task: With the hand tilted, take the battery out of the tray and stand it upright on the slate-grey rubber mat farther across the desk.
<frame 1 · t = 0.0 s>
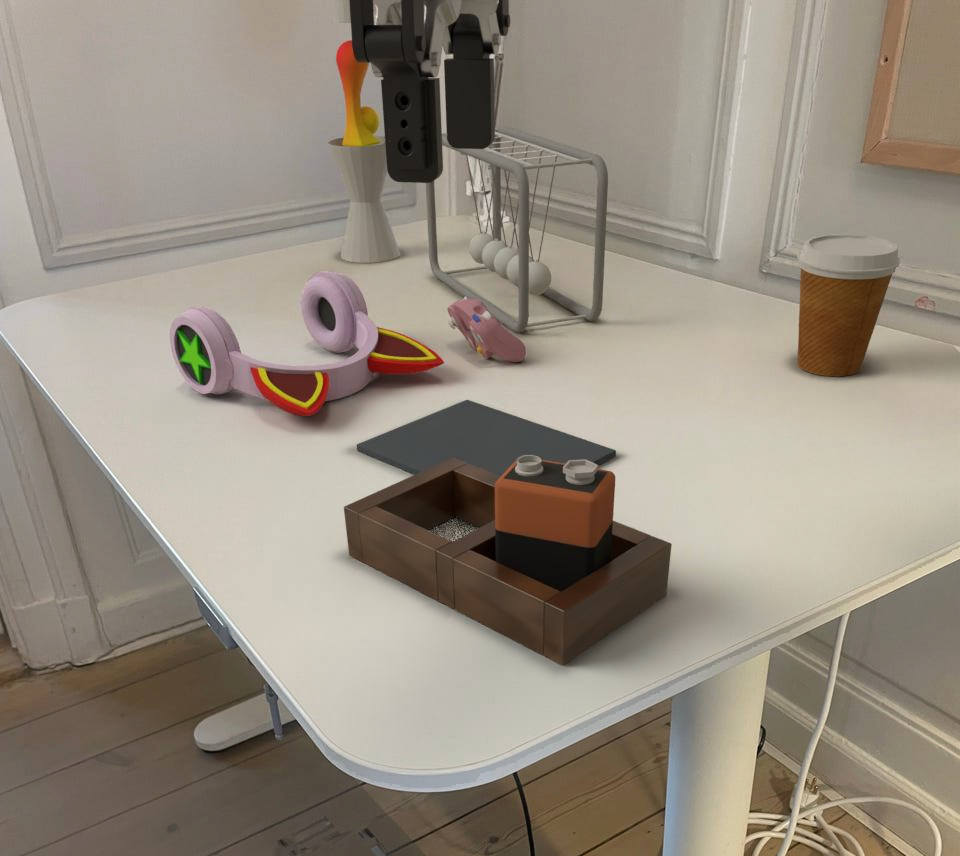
hand: (445, 162, 45), 28 cm above the table, tool pointing down, fingers open, 8 cm apart
tray: (501, 574, 70), on the table
headphones: (315, 385, 102), on the table
lava lamp: (370, 256, 145), on the table
battery: (552, 600, 68), resting in tray
newton's cradle: (509, 299, 126), on the table
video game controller: (485, 355, 109), on the table
mat: (484, 453, 87), on the table
disposable coffee cup: (828, 368, 103), on the table
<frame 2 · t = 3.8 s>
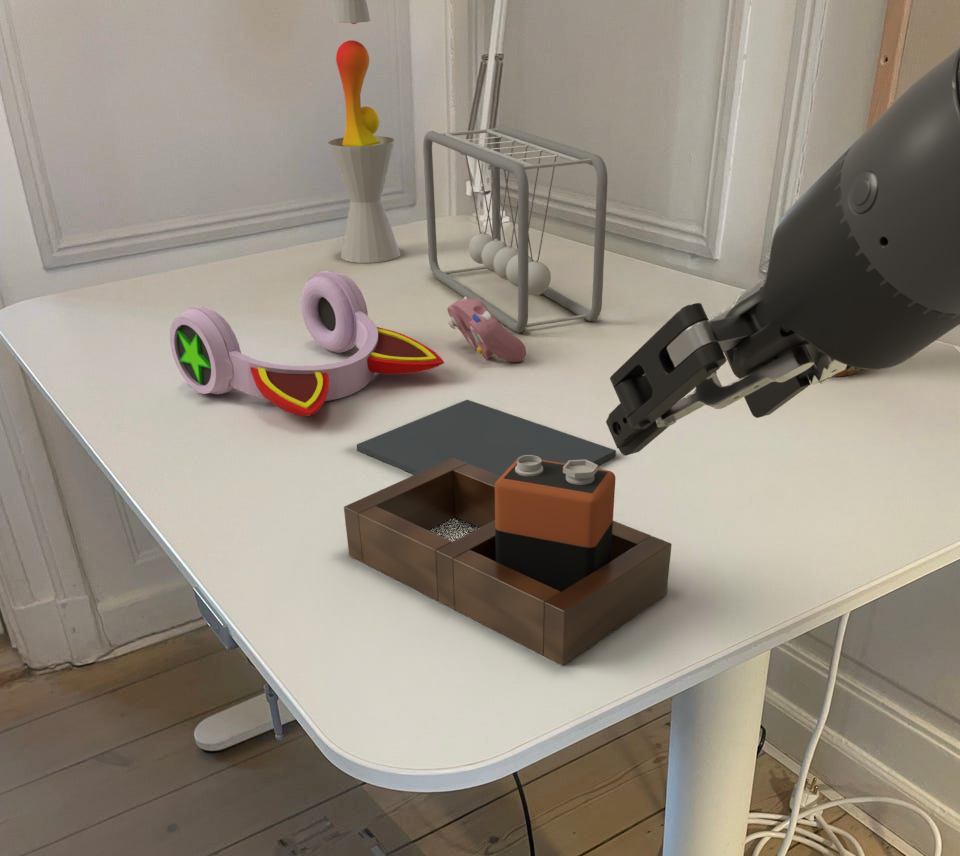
hand: (688, 417, 50), 17 cm above the table, tool tilted 45°, fingers open, 8 cm apart
nothing on the table moved.
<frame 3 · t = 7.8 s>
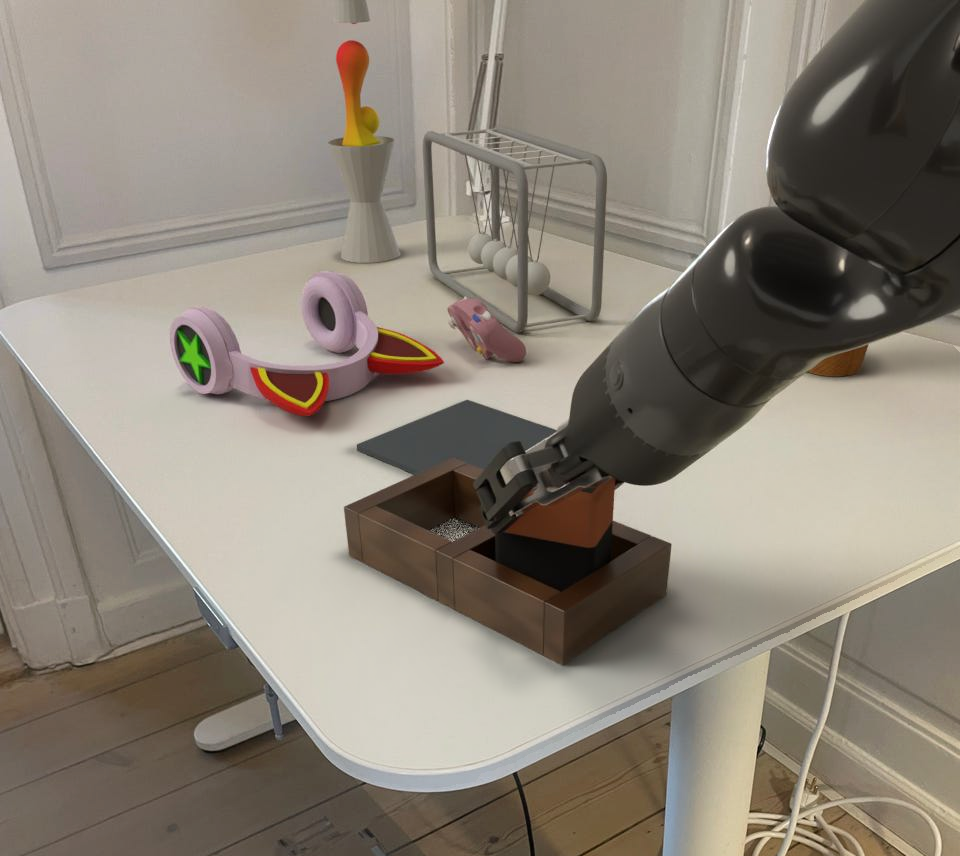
hand: (541, 503, 65), 7 cm above the table, tool tilted 45°, fingers closed on battery, 7 cm apart
battery: (552, 600, 68), resting in tray, touching gripper
everything else where it was.
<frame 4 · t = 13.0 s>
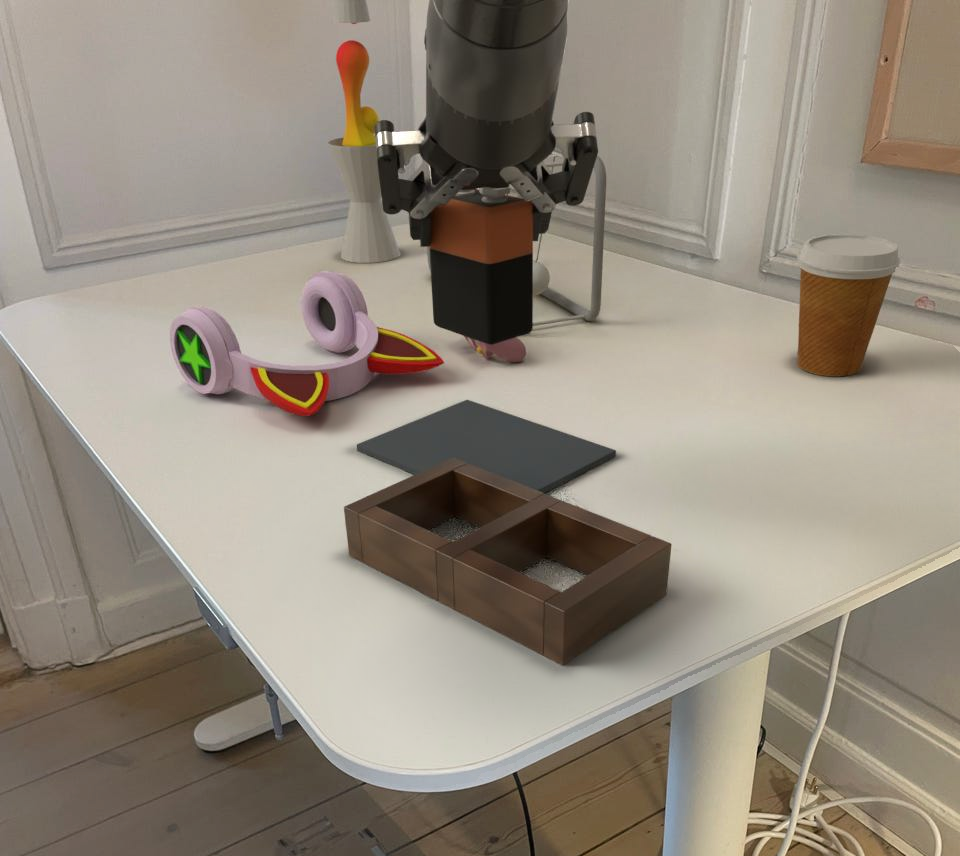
hand: (478, 232, 71), 20 cm above the table, tool tilted 45°, fingers closed on battery, 7 cm apart
battery: (482, 332, 74), point 13 cm above the table, touching gripper
everything else where it was.
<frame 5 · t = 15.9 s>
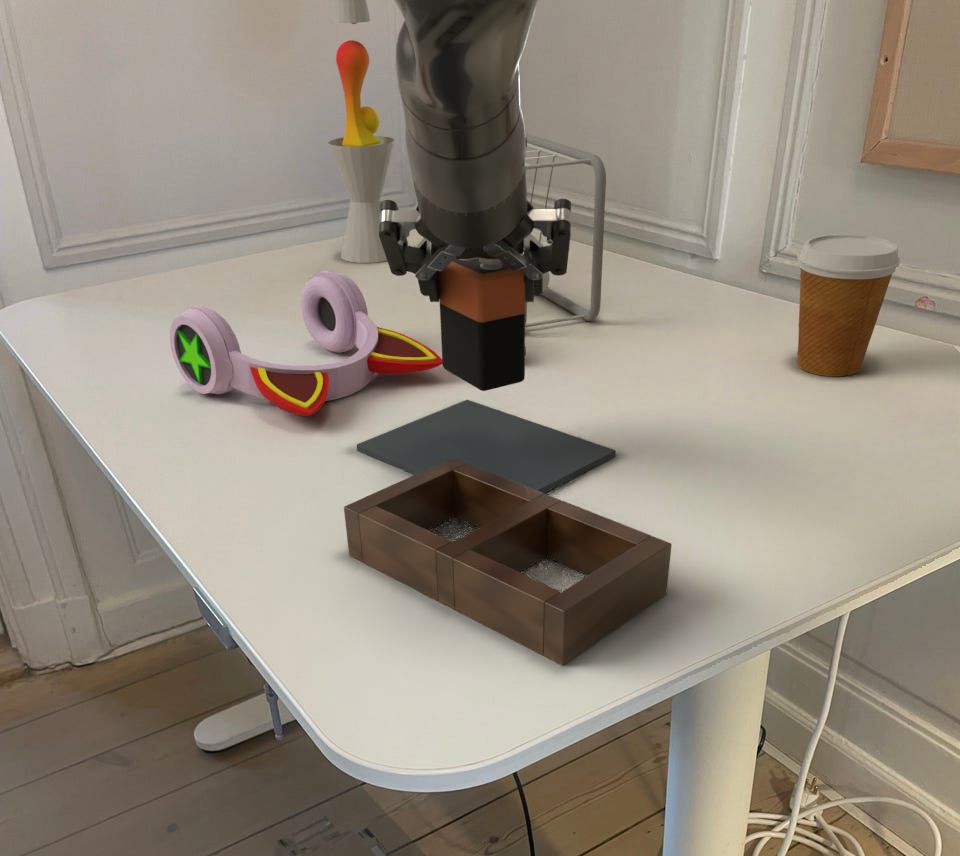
hand: (482, 291, 81), 14 cm above the table, tool tilted 45°, fingers closed on battery, 7 cm apart
battery: (483, 378, 83), point 7 cm above the table, touching gripper
everything else where it was.
when the fingers open (7 cm above the table, at t = 18.3 s): battery stays where it is, resting on mat.
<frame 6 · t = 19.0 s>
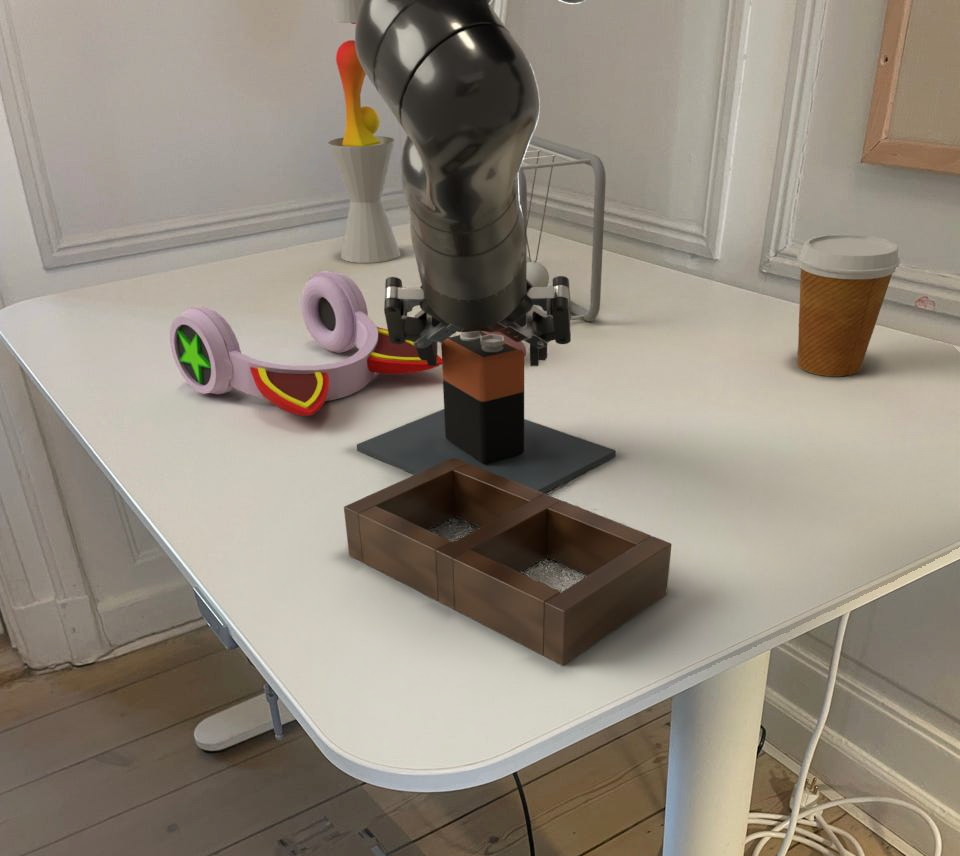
hand: (484, 355, 84), 8 cm above the table, tool tilted 45°, fingers open, 8 cm apart
battery: (484, 449, 87), resting on mat
everything else where it was.
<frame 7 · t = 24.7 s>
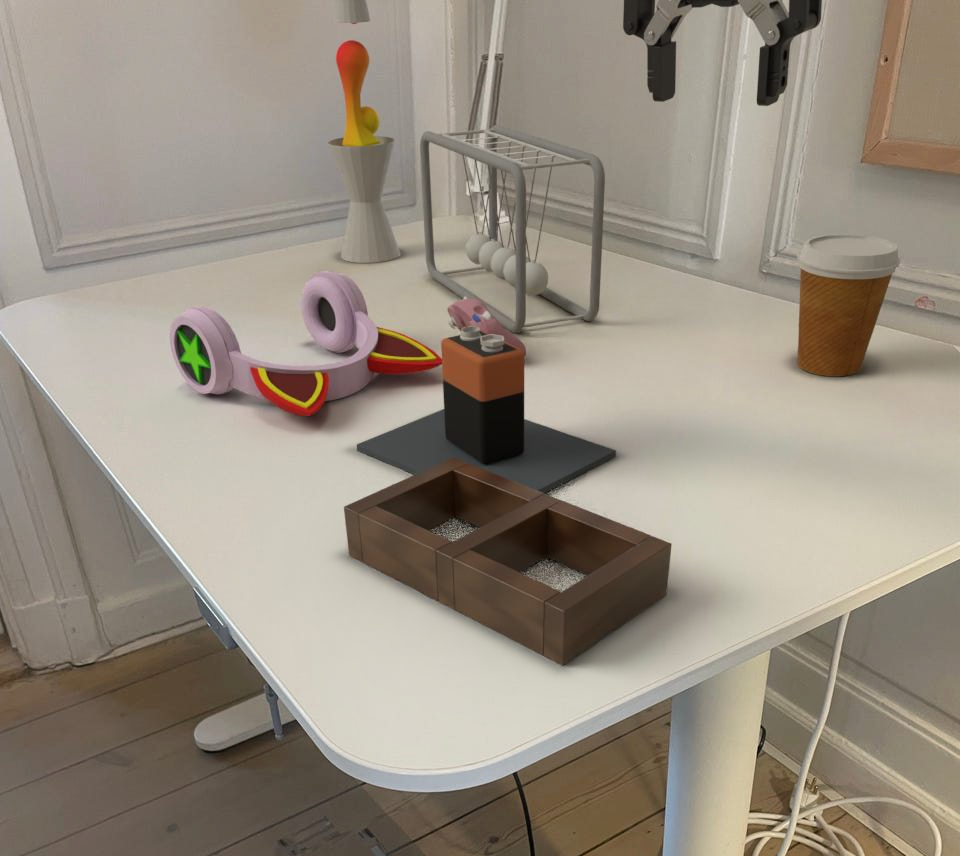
hand: (714, 101, 74), 27 cm above the table, tool pointing down, fingers open, 8 cm apart
nothing on the table moved.
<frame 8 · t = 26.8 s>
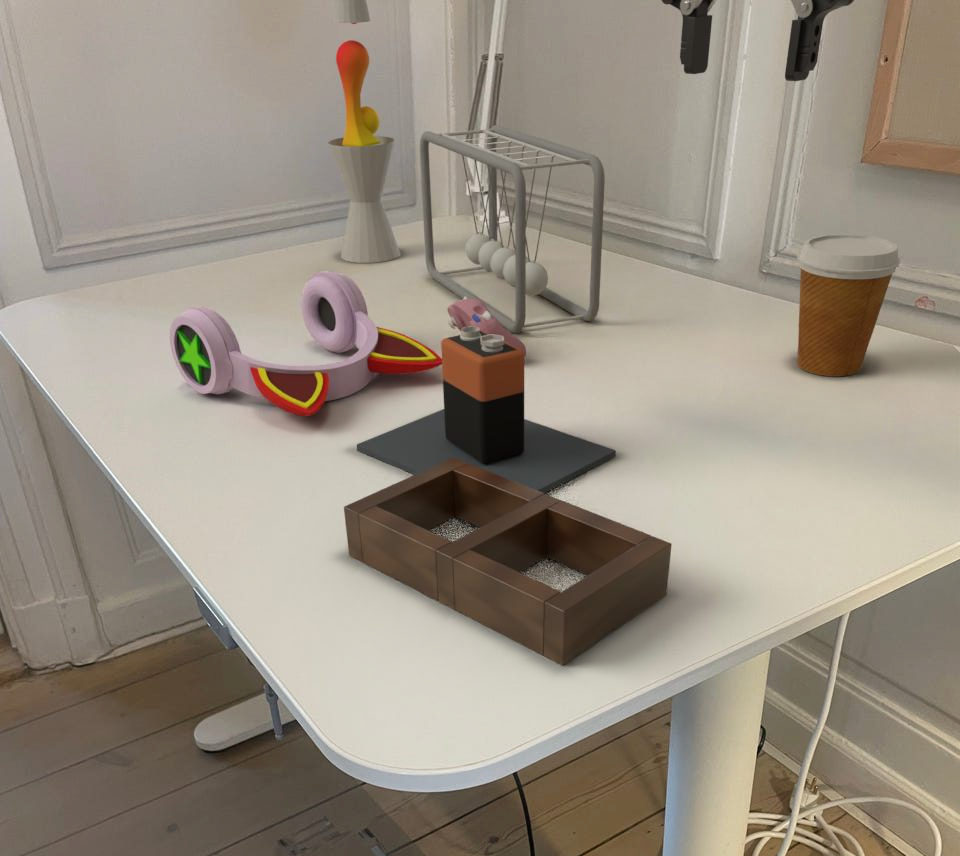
hand: (744, 76, 74), 28 cm above the table, tool pointing down, fingers open, 8 cm apart
nothing on the table moved.
at the end: battery inside the target area on the mat (0.1 cm from its centre), point 0.4 cm above the mat's base; battery tilted 0°; battery touching mat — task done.
